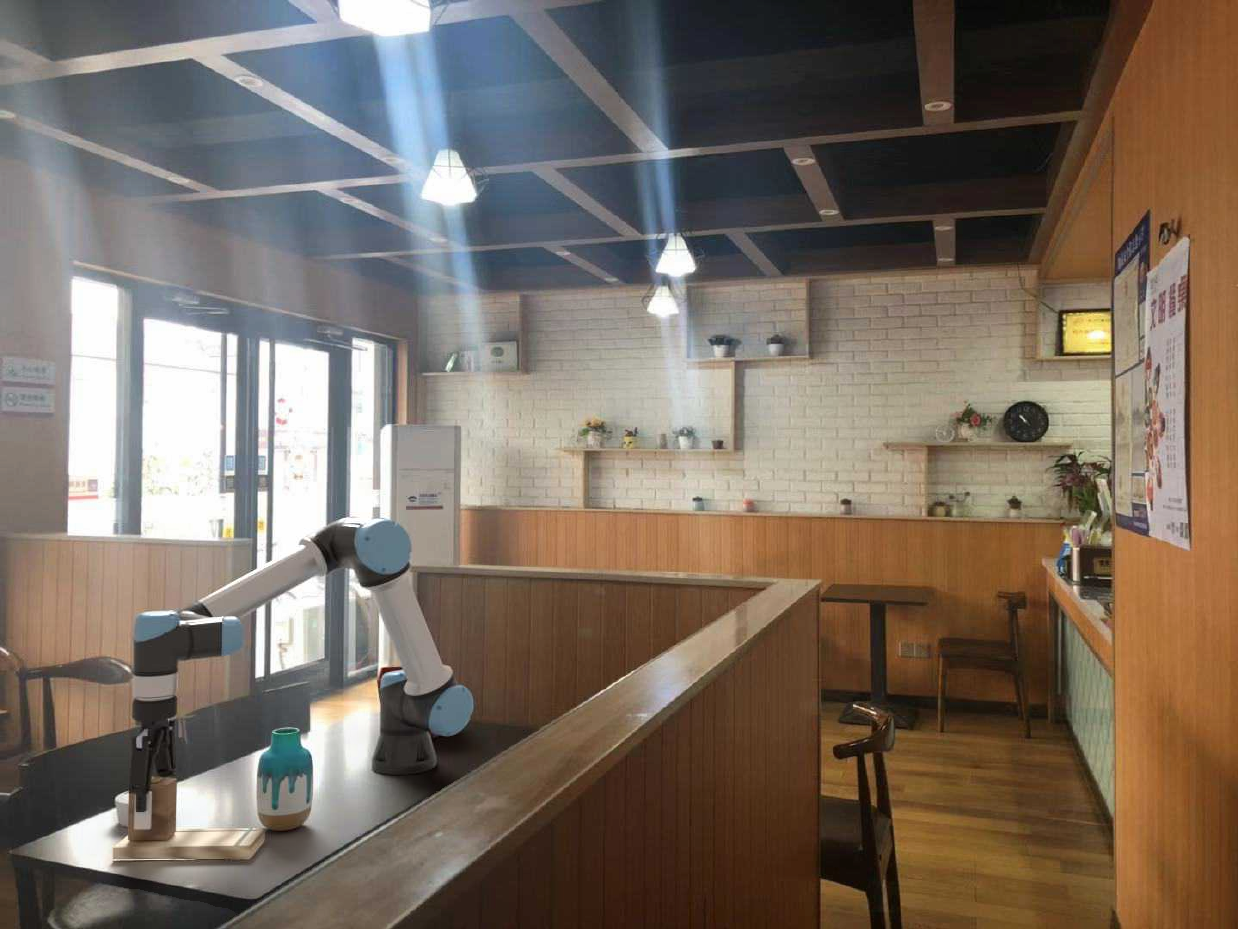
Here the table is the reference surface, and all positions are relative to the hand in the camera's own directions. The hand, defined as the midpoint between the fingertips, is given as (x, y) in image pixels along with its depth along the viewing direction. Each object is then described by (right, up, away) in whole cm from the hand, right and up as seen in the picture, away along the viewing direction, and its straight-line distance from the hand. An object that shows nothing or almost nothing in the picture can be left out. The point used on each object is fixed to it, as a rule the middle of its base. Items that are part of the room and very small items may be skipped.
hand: (152, 820), depth 180 cm
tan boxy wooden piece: (0, -3, +2) cm, 3 cm away
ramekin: (-9, -6, +16) cm, 20 cm away
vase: (+20, -6, +13) cm, 24 cm away
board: (+7, -6, 0) cm, 9 cm away
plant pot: (+30, -8, +86) cm, 92 cm away
